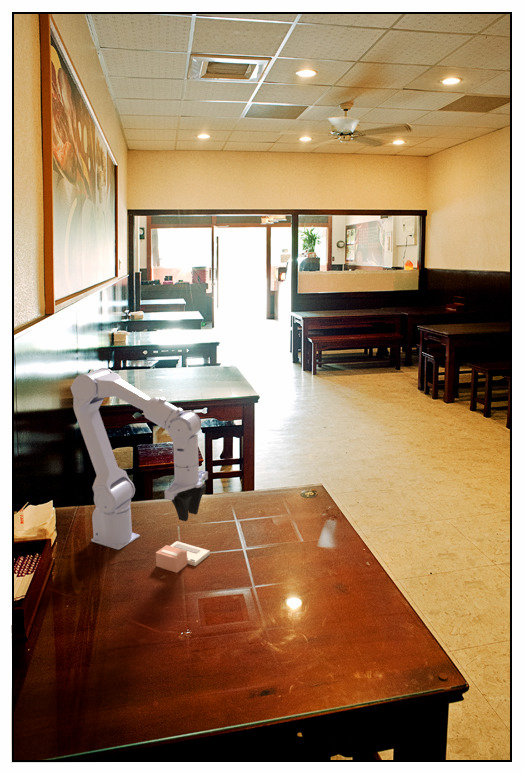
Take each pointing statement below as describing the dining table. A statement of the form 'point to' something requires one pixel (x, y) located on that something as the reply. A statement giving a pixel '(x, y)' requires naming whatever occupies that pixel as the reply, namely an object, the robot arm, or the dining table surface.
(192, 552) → the white slotted panel
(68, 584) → the dining table surface
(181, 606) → the dining table surface
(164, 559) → the pink rectangular block
